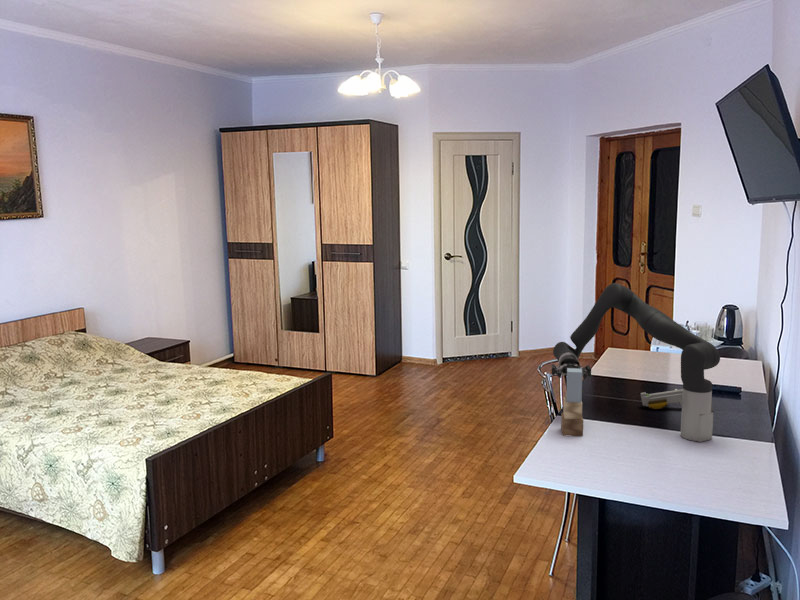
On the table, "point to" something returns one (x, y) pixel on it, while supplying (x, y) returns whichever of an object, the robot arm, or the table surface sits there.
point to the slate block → (574, 385)
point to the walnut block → (571, 426)
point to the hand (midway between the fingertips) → (572, 375)
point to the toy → (663, 399)
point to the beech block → (572, 410)
